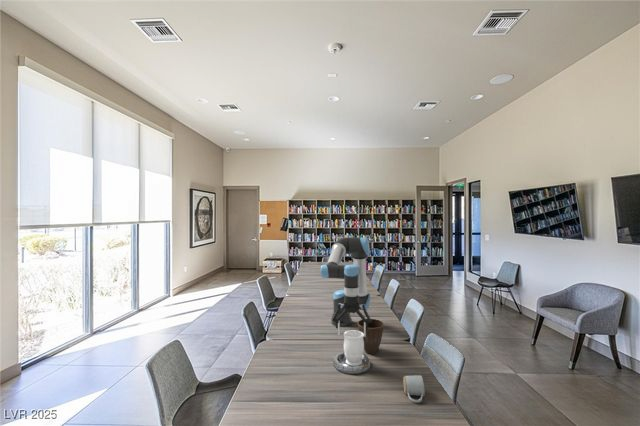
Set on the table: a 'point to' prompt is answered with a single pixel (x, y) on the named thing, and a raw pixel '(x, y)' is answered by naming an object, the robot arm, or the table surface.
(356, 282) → the robot arm
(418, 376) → the ceramic mug
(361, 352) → the jar
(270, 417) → the table surface
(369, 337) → the plant pot
